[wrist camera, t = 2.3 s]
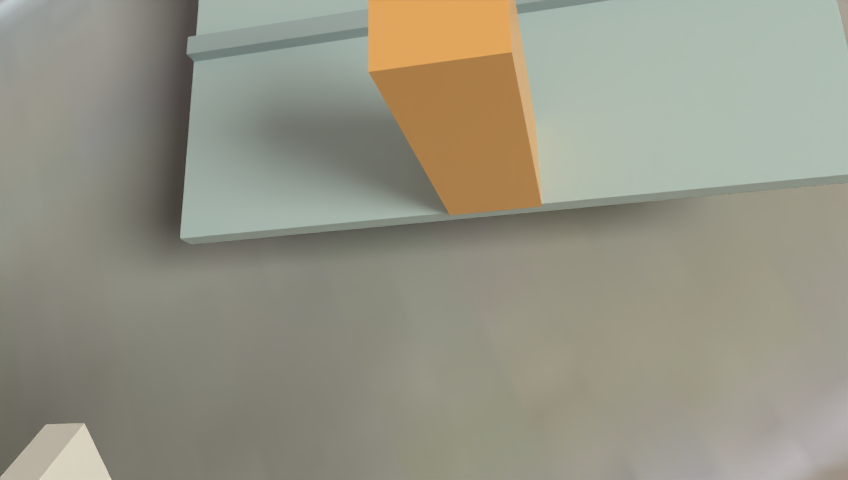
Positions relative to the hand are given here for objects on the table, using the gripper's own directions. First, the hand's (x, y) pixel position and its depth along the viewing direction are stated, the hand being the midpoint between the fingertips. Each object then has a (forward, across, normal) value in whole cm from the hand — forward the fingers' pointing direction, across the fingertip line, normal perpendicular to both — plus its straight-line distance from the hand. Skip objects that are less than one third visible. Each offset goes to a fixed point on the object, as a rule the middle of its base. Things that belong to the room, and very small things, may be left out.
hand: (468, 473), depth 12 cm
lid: (+23, -1, +5) cm, 23 cm away
